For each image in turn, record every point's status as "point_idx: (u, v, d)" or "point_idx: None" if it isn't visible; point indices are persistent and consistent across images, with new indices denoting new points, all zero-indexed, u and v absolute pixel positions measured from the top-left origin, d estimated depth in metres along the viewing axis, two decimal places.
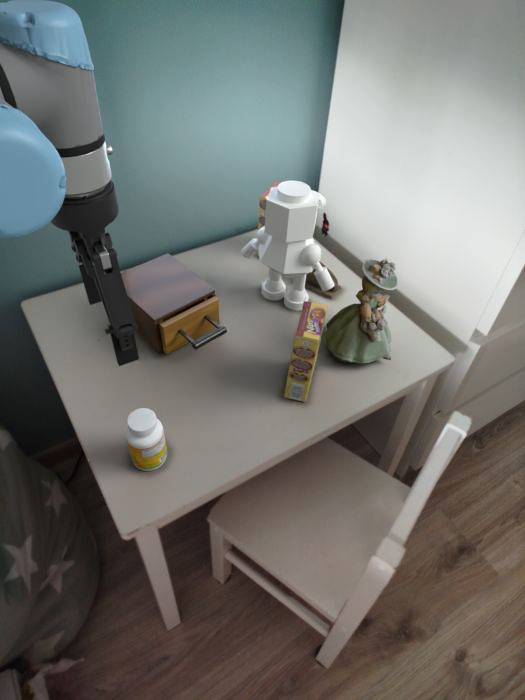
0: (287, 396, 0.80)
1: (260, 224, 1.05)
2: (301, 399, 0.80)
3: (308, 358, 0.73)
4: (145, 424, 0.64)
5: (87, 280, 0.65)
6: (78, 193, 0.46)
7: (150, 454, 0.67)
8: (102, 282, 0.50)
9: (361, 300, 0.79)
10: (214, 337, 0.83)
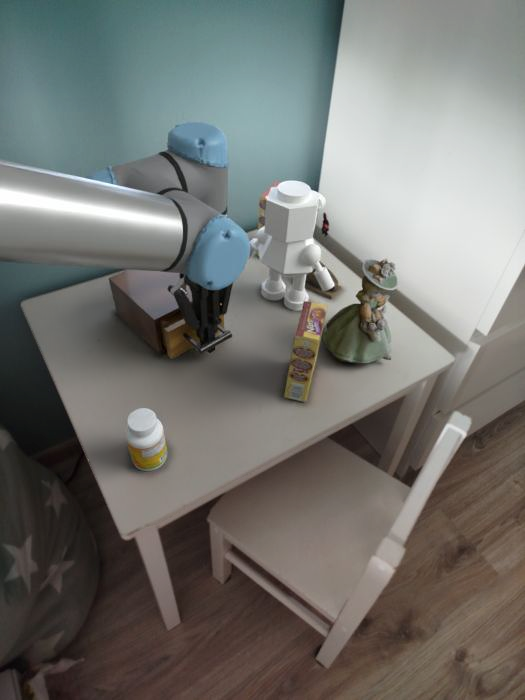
0: (287, 396, 0.80)
1: (260, 224, 1.05)
2: (301, 399, 0.80)
3: (308, 358, 0.73)
4: (145, 424, 0.64)
5: None
6: None
7: (150, 454, 0.67)
8: (176, 299, 0.74)
9: (361, 300, 0.79)
10: (219, 342, 0.82)
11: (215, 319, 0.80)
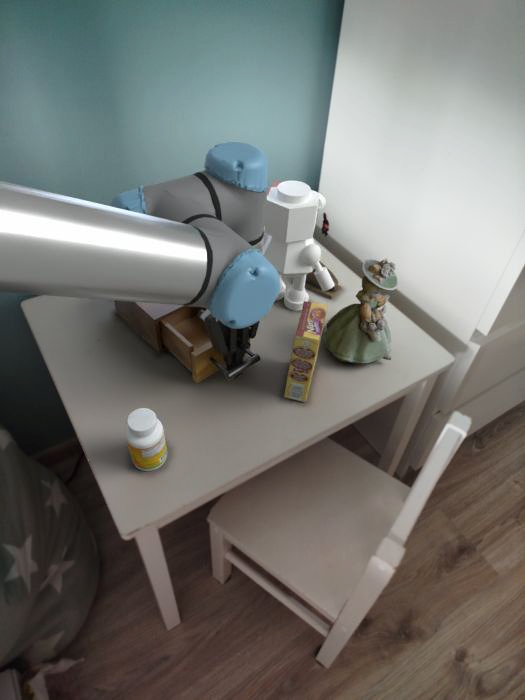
0: (287, 396, 0.80)
1: None
2: (301, 399, 0.80)
3: (308, 358, 0.73)
4: (145, 424, 0.64)
5: None
6: None
7: (151, 454, 0.67)
8: (205, 324, 0.70)
9: (361, 300, 0.79)
10: (248, 366, 0.79)
11: (244, 343, 0.77)
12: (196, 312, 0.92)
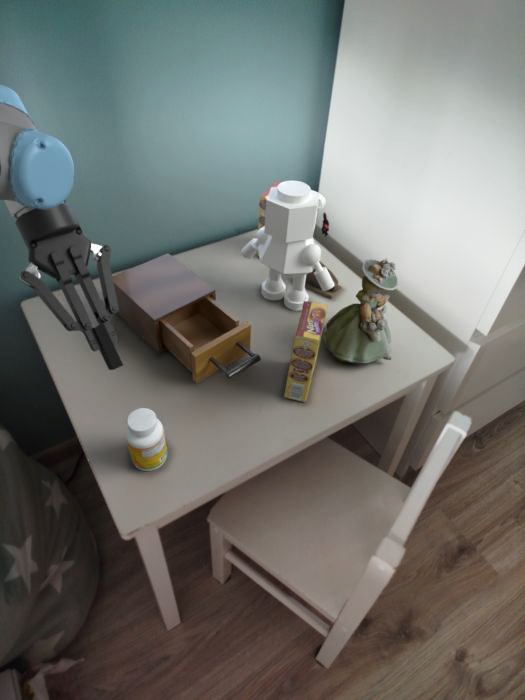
0: (287, 396, 0.80)
1: (260, 224, 1.05)
2: (301, 399, 0.80)
3: (308, 358, 0.73)
4: (145, 424, 0.64)
5: None
6: (11, 214, 0.61)
7: (151, 454, 0.67)
8: (37, 293, 0.63)
9: (361, 300, 0.79)
10: (248, 366, 0.79)
11: (102, 317, 0.66)
12: (196, 312, 0.92)
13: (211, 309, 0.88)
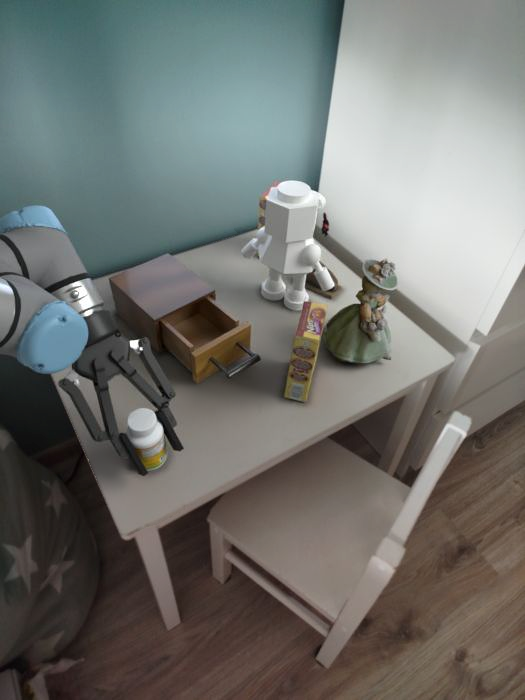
0: (287, 396, 0.80)
1: (260, 224, 1.05)
2: (301, 399, 0.80)
3: (308, 358, 0.73)
4: (145, 424, 0.64)
5: None
6: None
7: (150, 454, 0.67)
8: (72, 400, 0.63)
9: (361, 300, 0.79)
10: (248, 366, 0.79)
11: (161, 405, 0.67)
12: (196, 312, 0.92)
13: (211, 309, 0.88)
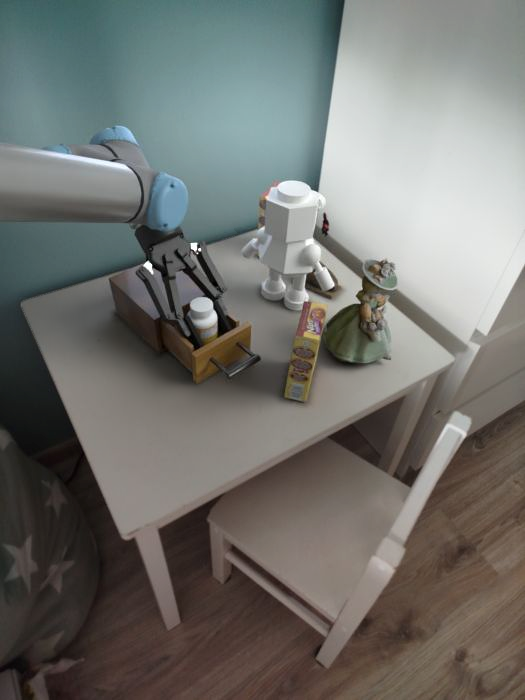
0: (287, 396, 0.80)
1: (260, 224, 1.05)
2: (301, 399, 0.80)
3: (308, 358, 0.73)
4: (204, 307, 0.79)
5: None
6: (131, 226, 0.77)
7: (207, 335, 0.81)
8: (146, 286, 0.78)
9: (361, 300, 0.79)
10: (248, 366, 0.79)
11: (216, 296, 0.82)
12: None
13: None
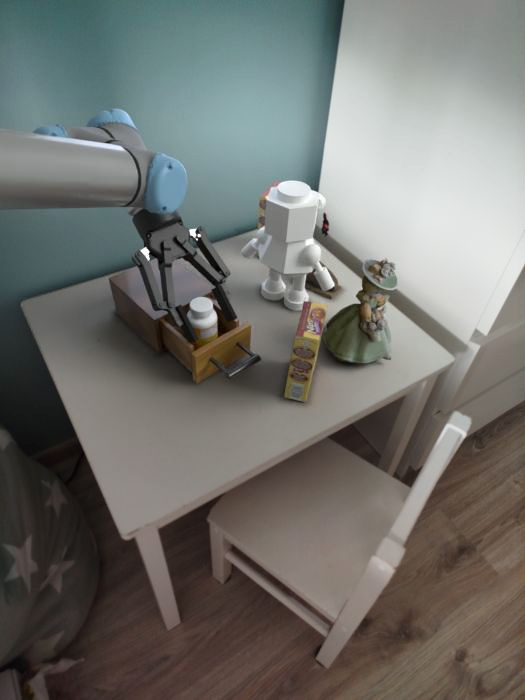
0: (287, 396, 0.80)
1: (260, 224, 1.05)
2: (301, 399, 0.80)
3: (308, 358, 0.73)
4: (204, 307, 0.79)
5: (218, 300, 0.82)
6: (128, 212, 0.75)
7: (207, 335, 0.81)
8: None
9: (361, 300, 0.79)
10: (248, 366, 0.79)
11: (219, 280, 0.81)
12: None
13: None
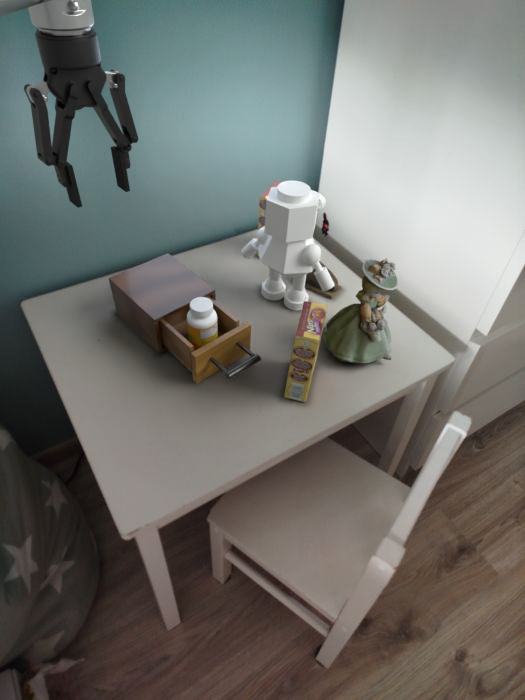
0: (287, 396, 0.80)
1: (260, 224, 1.05)
2: (301, 399, 0.80)
3: (308, 358, 0.73)
4: (204, 307, 0.79)
5: (114, 162, 0.74)
6: (32, 23, 0.57)
7: (207, 335, 0.81)
8: (32, 110, 0.62)
9: (361, 300, 0.79)
10: (248, 366, 0.79)
11: (123, 146, 0.72)
12: None
13: None
